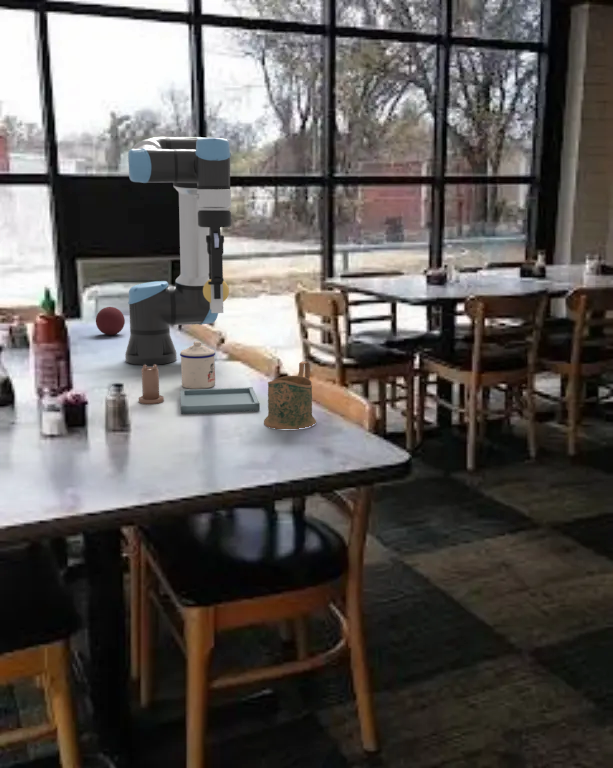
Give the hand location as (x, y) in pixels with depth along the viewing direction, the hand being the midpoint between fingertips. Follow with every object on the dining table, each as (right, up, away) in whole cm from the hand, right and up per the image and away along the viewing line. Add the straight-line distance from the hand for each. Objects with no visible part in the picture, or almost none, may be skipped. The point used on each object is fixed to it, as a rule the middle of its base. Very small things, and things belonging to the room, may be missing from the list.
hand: (216, 310), depth 185 cm
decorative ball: (-48, 0, +97) cm, 108 cm away
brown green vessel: (+18, -25, -7) cm, 32 cm away
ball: (0, +4, -1) cm, 5 cm away
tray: (0, -22, +5) cm, 22 cm away
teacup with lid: (-7, -17, +25) cm, 31 cm away
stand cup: (-17, -21, +8) cm, 28 cm away
